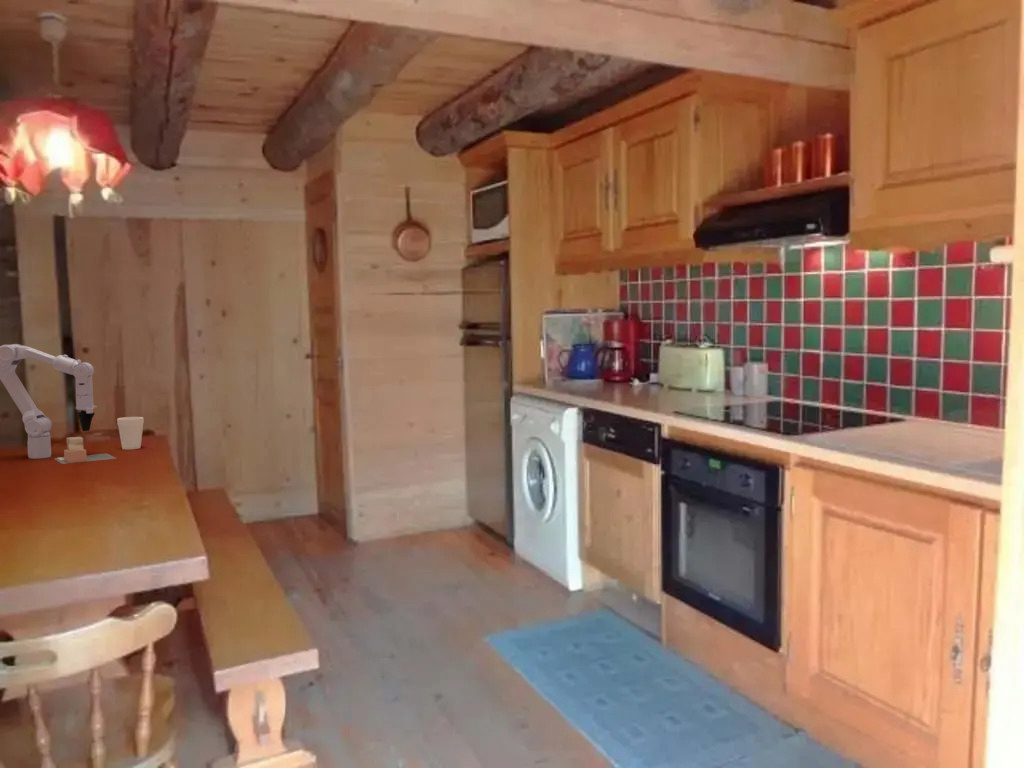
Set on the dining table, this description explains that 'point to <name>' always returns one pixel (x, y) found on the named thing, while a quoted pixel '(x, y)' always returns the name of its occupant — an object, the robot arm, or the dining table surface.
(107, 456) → the build board
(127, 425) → the foam cup
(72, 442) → the cream cube
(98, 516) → the dining table surface
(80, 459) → the terracotta block
